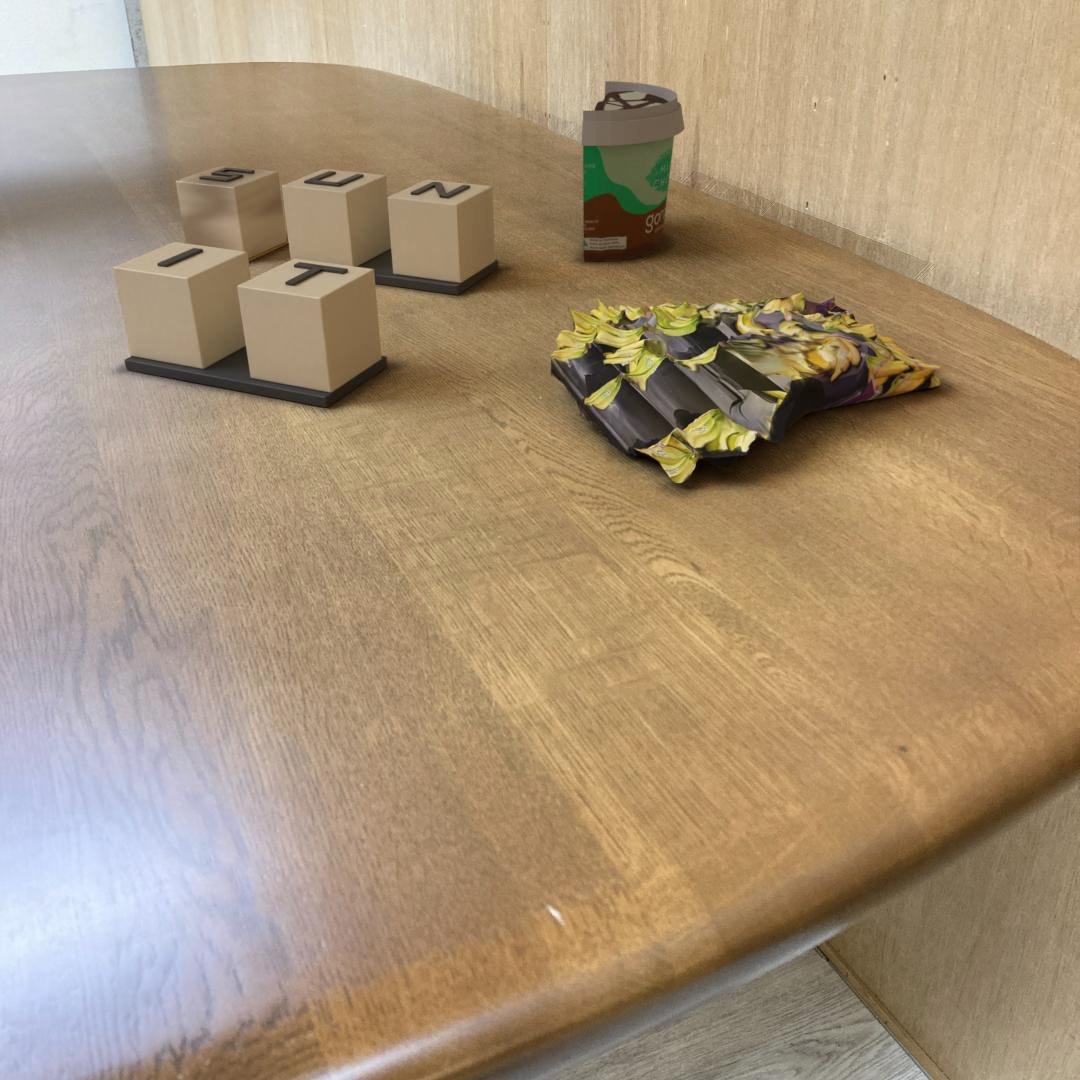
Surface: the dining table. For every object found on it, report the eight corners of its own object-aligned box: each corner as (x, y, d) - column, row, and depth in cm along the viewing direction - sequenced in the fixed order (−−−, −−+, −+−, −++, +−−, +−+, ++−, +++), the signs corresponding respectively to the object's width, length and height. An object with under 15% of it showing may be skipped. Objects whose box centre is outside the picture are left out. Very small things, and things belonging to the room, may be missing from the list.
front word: (125, 369, 62) (104, 266, 59) (196, 333, 67) (179, 236, 64) (327, 408, 58) (314, 298, 55) (387, 366, 62) (379, 262, 59)
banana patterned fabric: (816, 327, 69) (861, 230, 65) (973, 508, 59) (1039, 406, 54) (512, 324, 61) (541, 213, 57) (631, 533, 51) (677, 416, 46)
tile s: (187, 252, 81) (174, 178, 78) (230, 234, 84) (220, 162, 82) (245, 261, 79) (234, 184, 76) (287, 241, 83) (278, 168, 80)
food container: (671, 271, 76) (679, 114, 71) (580, 267, 77) (581, 112, 72) (684, 221, 87) (691, 81, 81) (603, 218, 87) (606, 79, 82)
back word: (177, 255, 80) (162, 171, 77) (230, 233, 85) (218, 153, 82) (457, 295, 72) (453, 203, 69) (498, 268, 77) (496, 181, 74)
